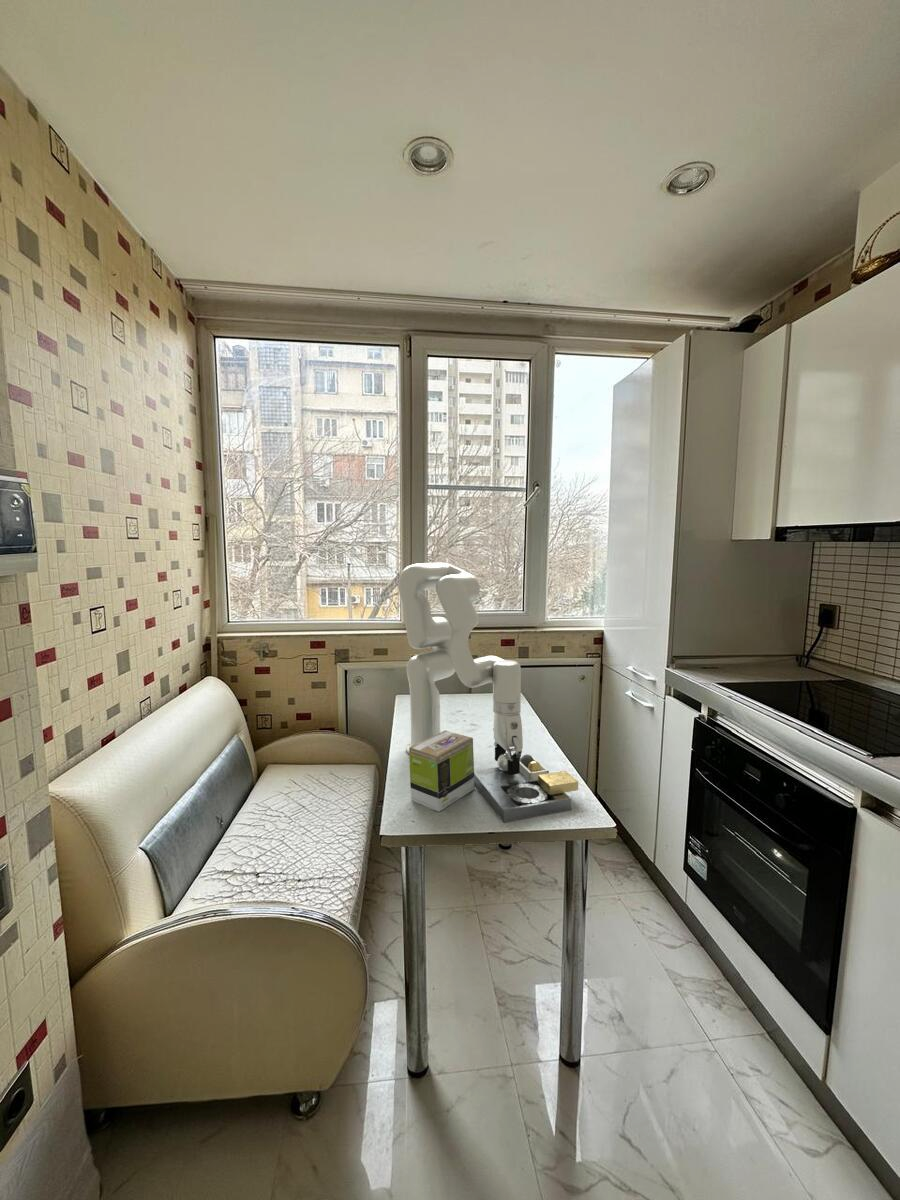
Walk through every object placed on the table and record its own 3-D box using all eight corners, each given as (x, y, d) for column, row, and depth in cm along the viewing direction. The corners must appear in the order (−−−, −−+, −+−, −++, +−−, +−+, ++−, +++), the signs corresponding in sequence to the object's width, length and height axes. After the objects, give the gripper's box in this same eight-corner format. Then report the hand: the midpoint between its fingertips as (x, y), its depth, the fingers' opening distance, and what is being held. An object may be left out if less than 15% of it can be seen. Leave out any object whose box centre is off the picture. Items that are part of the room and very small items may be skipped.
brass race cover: (538, 783, 129) (538, 774, 129) (565, 779, 131) (565, 770, 131) (549, 794, 123) (549, 786, 123) (578, 790, 125) (578, 781, 125)
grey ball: (518, 765, 140) (519, 753, 139) (530, 763, 141) (530, 751, 140) (524, 770, 136) (524, 758, 136) (535, 768, 137) (536, 756, 137)
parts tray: (514, 765, 141) (514, 758, 140) (531, 762, 142) (531, 755, 142) (530, 781, 131) (530, 773, 131) (548, 778, 132) (548, 770, 132)
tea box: (446, 779, 139) (446, 728, 137) (475, 790, 133) (475, 737, 131) (409, 800, 127) (408, 745, 126) (438, 813, 121) (438, 755, 120)
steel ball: (494, 768, 139) (494, 751, 138) (511, 766, 140) (511, 749, 140) (501, 776, 134) (501, 758, 133) (518, 773, 135) (518, 756, 135)
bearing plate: (472, 781, 138) (472, 770, 137) (531, 772, 143) (531, 762, 143) (503, 822, 117) (503, 810, 116) (571, 810, 122) (571, 798, 122)
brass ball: (525, 771, 136) (525, 759, 135) (537, 770, 137) (537, 758, 136) (531, 777, 132) (531, 764, 132) (543, 775, 133) (543, 763, 133)
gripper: (533, 714, 128) (533, 778, 130) (506, 695, 145) (506, 753, 146) (506, 717, 126) (506, 782, 128) (482, 698, 142) (482, 756, 144)
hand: (506, 766), depth 137 cm, fingers open, 8 cm apart
